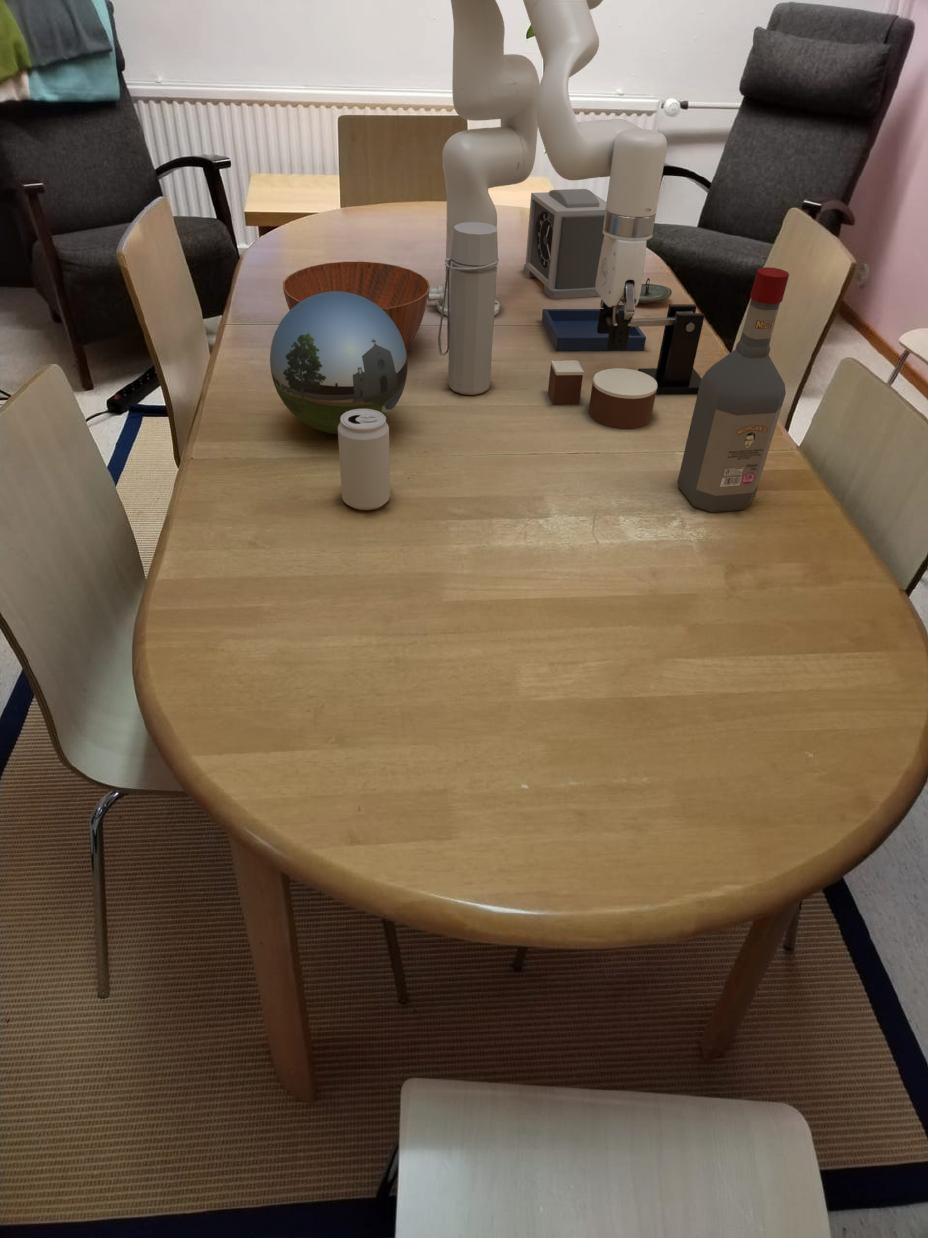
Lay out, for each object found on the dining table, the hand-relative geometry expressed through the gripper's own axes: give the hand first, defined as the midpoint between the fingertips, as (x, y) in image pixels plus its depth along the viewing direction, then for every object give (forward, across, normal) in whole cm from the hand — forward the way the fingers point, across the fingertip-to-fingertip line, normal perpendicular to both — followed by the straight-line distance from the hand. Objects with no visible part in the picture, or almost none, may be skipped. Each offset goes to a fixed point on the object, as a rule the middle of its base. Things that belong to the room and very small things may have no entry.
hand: (611, 339), depth 139 cm
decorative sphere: (+8, +14, -44) cm, 47 cm away
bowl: (+8, -16, -41) cm, 45 cm away
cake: (+8, +11, 0) cm, 14 cm away
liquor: (+8, +36, +7) cm, 38 cm away
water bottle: (+8, 0, -24) cm, 25 cm away
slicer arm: (-2, 0, +6) cm, 6 cm away
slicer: (+8, 0, +12) cm, 14 cm away
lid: (+8, -41, +19) cm, 46 cm away
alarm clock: (+8, -52, +4) cm, 53 cm away
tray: (+8, -22, +3) cm, 24 cm away
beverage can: (+8, +35, -41) cm, 55 cm away
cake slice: (+8, +5, -8) cm, 12 cm away
